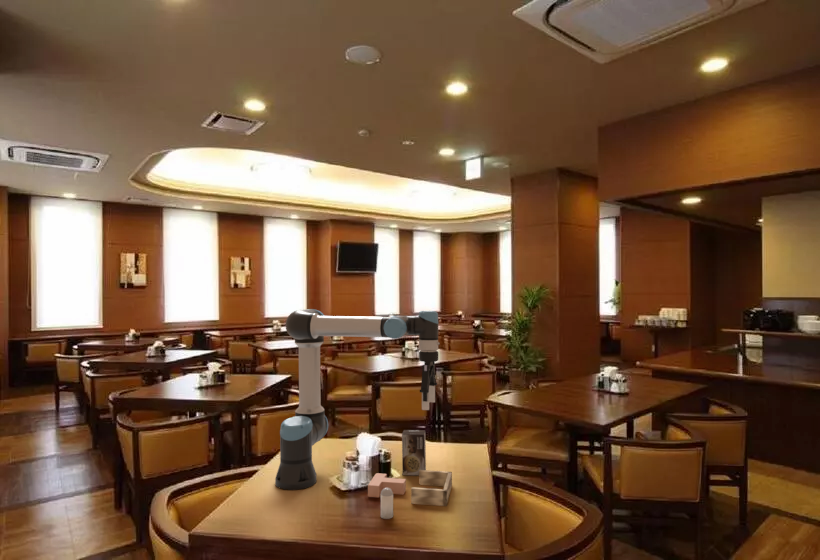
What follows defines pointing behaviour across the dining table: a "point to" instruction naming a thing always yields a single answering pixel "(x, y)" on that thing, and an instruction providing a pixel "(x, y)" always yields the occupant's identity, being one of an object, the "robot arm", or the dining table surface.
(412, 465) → the coffee box
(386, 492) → the cylinder
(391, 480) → the t block
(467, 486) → the dining table surface
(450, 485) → the bay
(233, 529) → the dining table surface
